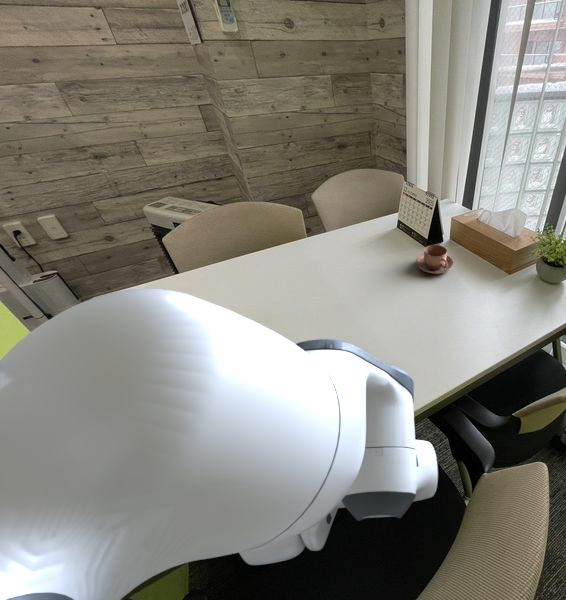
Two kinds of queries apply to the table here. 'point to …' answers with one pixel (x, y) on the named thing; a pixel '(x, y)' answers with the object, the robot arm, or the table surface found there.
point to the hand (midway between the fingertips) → (230, 478)
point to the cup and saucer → (435, 260)
